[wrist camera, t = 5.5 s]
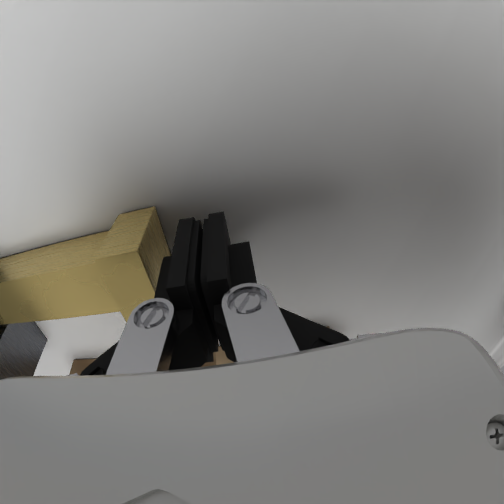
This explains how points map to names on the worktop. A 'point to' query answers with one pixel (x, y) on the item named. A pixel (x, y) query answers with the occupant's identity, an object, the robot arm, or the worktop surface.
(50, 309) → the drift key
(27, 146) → the worktop surface
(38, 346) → the socket block
